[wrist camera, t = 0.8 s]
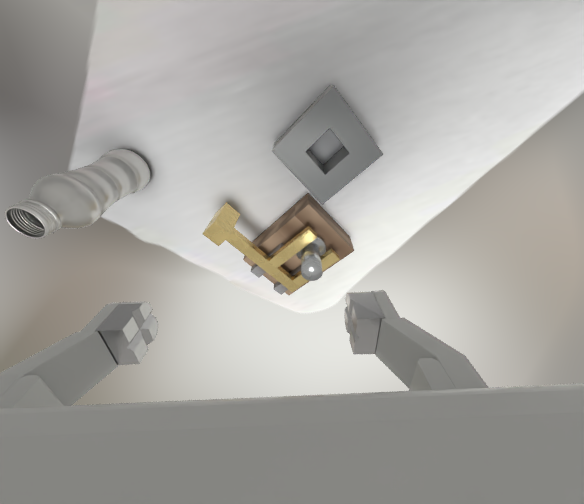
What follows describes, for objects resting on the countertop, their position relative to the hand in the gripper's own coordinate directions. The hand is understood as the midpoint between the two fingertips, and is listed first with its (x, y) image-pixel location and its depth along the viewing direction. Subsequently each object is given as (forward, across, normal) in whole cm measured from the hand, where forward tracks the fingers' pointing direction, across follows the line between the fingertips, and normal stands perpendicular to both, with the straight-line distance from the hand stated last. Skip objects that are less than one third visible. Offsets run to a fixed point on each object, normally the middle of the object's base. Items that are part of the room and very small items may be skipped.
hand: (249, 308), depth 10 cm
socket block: (+36, -3, +15) cm, 39 cm away
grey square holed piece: (+34, -8, -3) cm, 35 cm away
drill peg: (+35, -5, +13) cm, 38 cm away
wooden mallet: (+33, +1, +11) cm, 35 cm away
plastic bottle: (+36, +24, 0) cm, 43 cm away
